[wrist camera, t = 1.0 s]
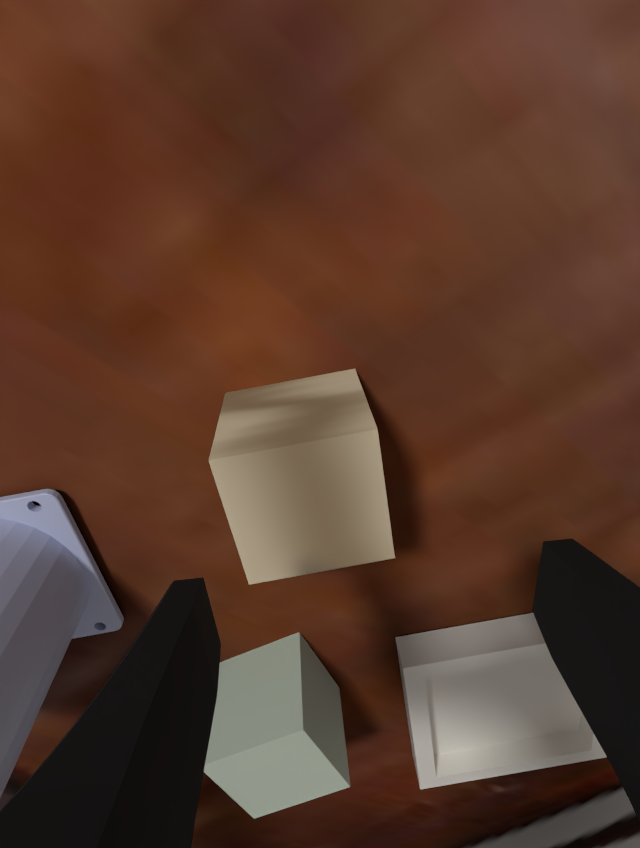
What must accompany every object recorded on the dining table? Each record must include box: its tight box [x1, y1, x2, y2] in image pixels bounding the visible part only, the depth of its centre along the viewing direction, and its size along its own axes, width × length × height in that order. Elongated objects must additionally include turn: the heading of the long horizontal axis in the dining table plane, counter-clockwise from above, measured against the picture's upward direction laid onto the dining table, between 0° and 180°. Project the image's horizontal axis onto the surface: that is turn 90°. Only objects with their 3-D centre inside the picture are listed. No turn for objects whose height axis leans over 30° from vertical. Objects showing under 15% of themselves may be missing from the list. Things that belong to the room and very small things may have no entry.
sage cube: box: [204, 632, 350, 819], centre depth 24 cm, size 5×5×5 cm
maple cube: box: [209, 369, 395, 584], centre depth 18 cm, size 5×5×5 cm
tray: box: [395, 613, 607, 789], centre depth 27 cm, size 11×11×2 cm
